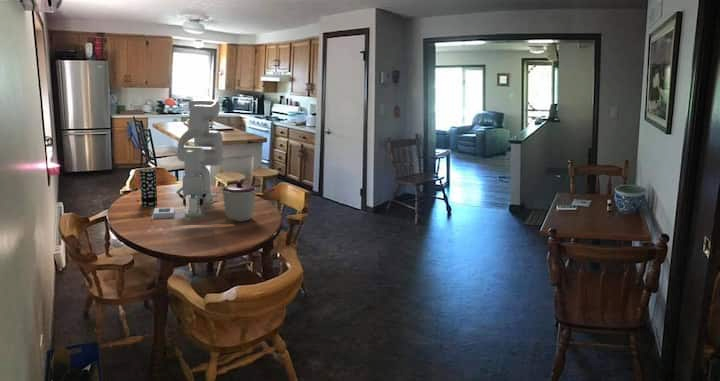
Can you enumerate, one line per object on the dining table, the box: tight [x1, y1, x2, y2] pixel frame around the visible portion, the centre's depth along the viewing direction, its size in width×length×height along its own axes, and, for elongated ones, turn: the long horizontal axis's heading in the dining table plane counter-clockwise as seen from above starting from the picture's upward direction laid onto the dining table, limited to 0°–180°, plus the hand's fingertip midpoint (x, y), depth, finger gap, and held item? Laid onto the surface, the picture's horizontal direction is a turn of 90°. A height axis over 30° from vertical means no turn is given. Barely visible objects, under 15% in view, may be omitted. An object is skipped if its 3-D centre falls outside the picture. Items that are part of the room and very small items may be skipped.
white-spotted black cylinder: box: [139, 168, 158, 208], centre depth 301 cm, size 8×8×20 cm
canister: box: [221, 180, 258, 223], centre depth 280 cm, size 18×18×21 cm
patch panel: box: [150, 206, 205, 222], centre depth 281 cm, size 26×14×4 cm, turn 107°
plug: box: [188, 195, 198, 213], centre depth 282 cm, size 4×6×10 cm, turn 17°
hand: (193, 205), depth 283 cm, fingers open, 7 cm apart
